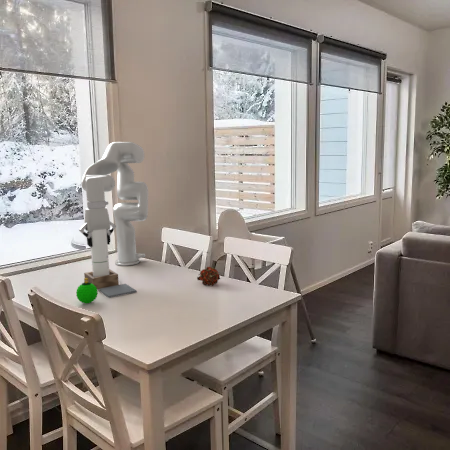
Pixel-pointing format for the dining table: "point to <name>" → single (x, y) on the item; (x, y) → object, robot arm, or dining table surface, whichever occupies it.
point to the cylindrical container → (99, 253)
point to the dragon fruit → (209, 276)
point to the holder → (103, 279)
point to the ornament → (86, 292)
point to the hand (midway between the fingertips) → (99, 245)
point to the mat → (117, 290)
